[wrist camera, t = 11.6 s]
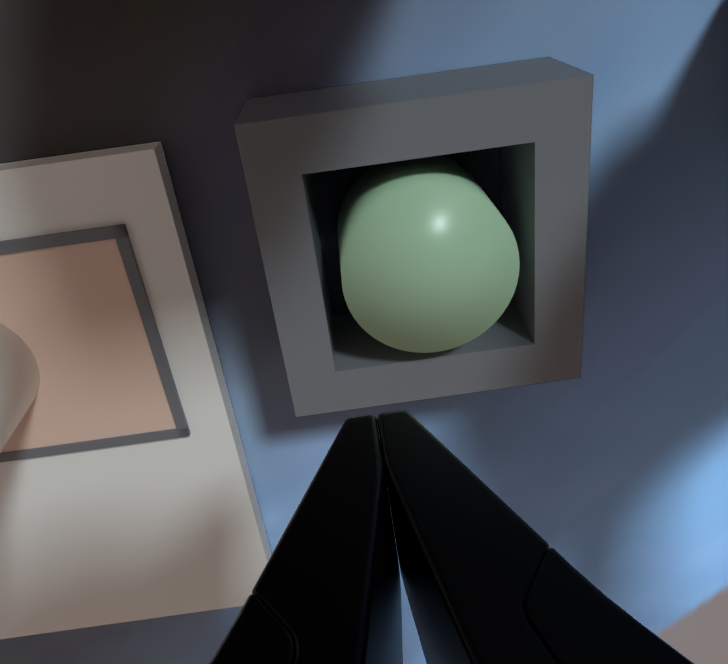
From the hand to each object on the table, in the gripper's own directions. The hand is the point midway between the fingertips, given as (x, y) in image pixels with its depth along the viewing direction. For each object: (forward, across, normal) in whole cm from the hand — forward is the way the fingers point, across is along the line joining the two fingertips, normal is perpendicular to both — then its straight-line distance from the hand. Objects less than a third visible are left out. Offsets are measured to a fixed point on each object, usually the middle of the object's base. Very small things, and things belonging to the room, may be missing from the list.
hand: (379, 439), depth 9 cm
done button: (+9, -2, 0) cm, 9 cm away
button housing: (+10, -2, 0) cm, 10 cm away
